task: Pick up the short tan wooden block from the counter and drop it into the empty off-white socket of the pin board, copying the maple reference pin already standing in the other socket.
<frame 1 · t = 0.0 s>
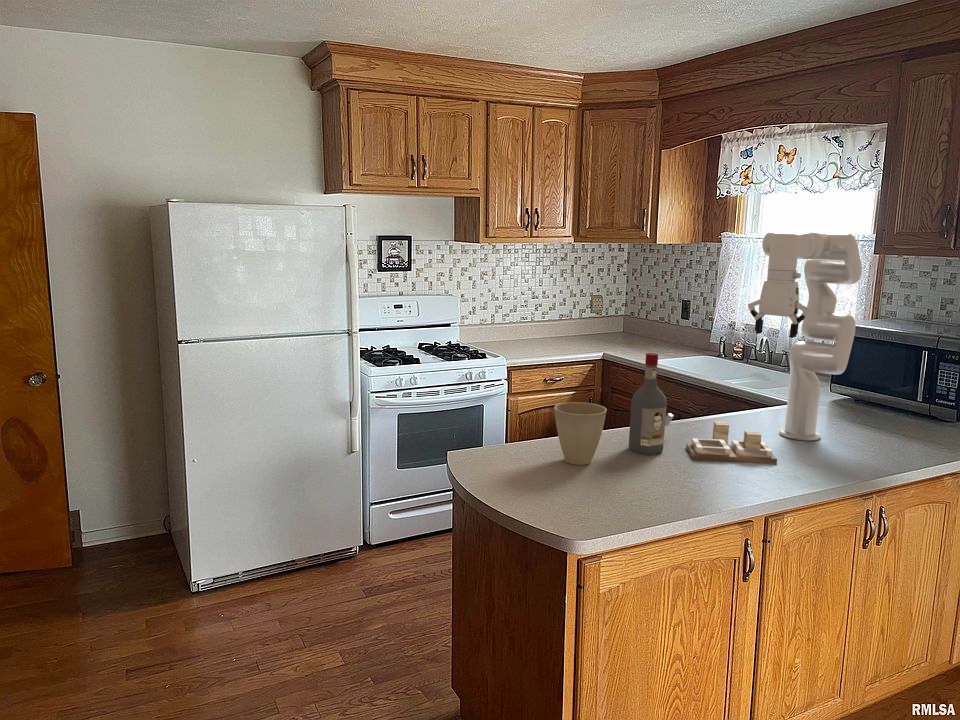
hand: (775, 335, 219), 37 cm above the countertop, tool pointing down, fingers open, 9 cm apart
plant pot: (577, 461, 220), on the countertop
tan wooden block: (719, 441, 243), on the countertop
liquor: (645, 450, 232), on the countertop
pin board: (730, 455, 228), on the countertop
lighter: (661, 436, 247), on the countertop
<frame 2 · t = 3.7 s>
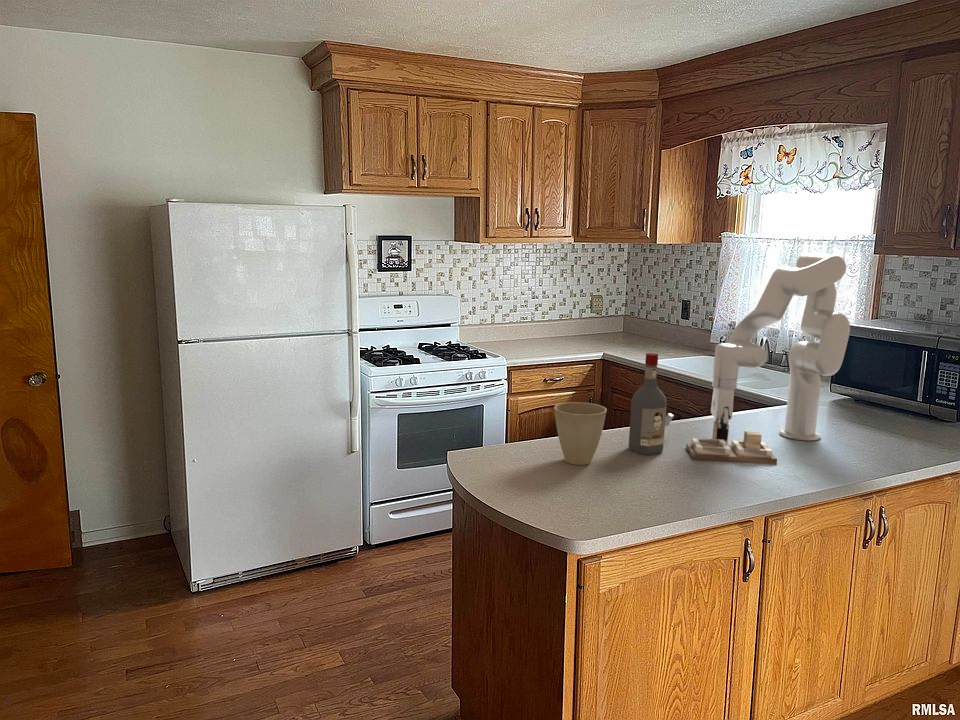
hand: (720, 437, 243), 1 cm above the countertop, tool pointing down, fingers closed on tan wooden block, 3 cm apart
tan wooden block: (719, 441, 243), on the countertop, touching gripper
everything else where it was.
when the fingers open (5 cm above the countertop, at t = 10.3 s): tan wooden block drops 3 cm, resting on pin board.
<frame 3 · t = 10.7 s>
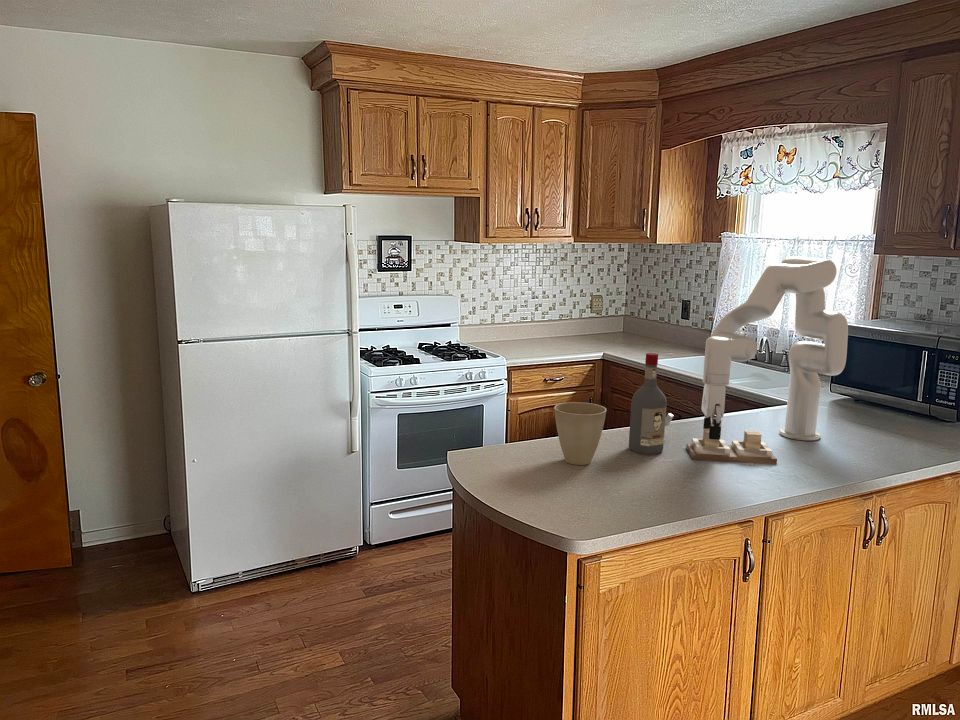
hand: (711, 434, 227), 6 cm above the countertop, tool pointing down, fingers open, 8 cm apart
tan wooden block: (710, 449, 228), point 1 cm above the countertop, touching pin board
everything else where it was.
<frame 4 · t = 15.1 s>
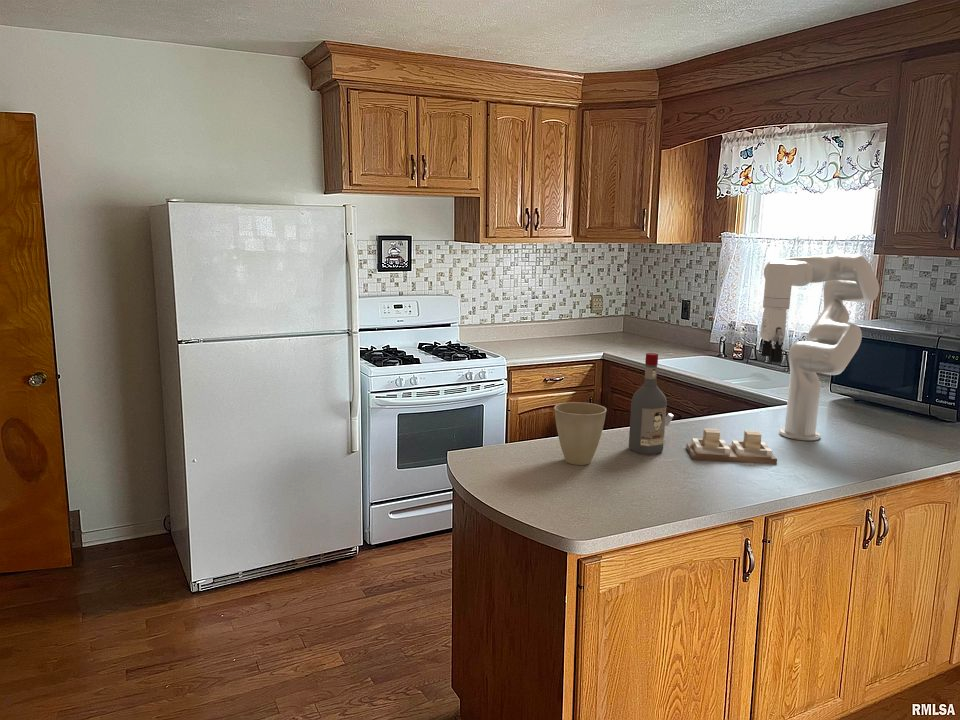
hand: (771, 358, 231), 28 cm above the countertop, tool pointing down, fingers open, 9 cm apart
nothing on the countertop moved.
at the end: tan wooden block 0.0 cm from the target spot on the pin board, point 1.5 cm above the pin board's base; tan wooden block tilted 0°; the gripper is holding nothing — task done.
